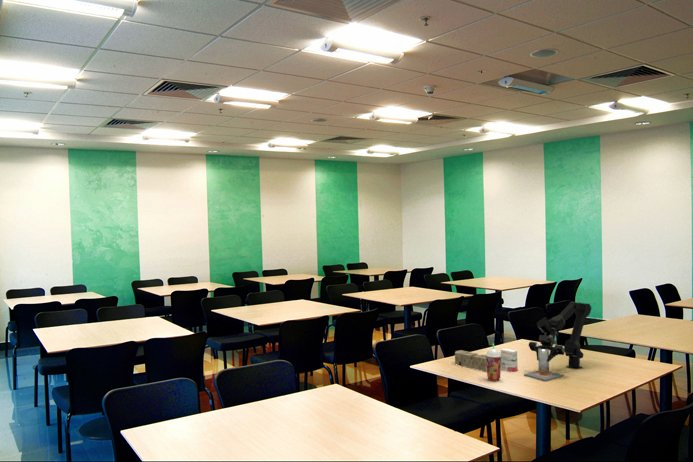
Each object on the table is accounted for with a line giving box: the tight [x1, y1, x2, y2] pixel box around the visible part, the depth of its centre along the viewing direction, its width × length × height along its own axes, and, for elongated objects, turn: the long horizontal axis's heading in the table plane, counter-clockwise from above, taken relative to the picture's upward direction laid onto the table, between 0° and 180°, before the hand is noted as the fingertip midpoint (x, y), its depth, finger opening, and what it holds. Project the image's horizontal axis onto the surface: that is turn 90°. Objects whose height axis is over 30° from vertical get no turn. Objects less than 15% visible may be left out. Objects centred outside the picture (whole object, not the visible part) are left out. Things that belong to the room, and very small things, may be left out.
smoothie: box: [485, 343, 502, 382], centre depth 289 cm, size 8×8×20 cm
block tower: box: [454, 349, 487, 372], centre depth 316 cm, size 8×8×29 cm
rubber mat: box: [523, 370, 565, 382], centre depth 294 cm, size 16×14×1 cm
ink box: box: [500, 348, 519, 373], centre depth 309 cm, size 8×5×12 cm, turn 39°
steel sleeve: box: [537, 348, 550, 373], centre depth 294 cm, size 6×6×13 cm
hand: (542, 360), depth 293 cm, fingers closed on steel sleeve, 5 cm apart
